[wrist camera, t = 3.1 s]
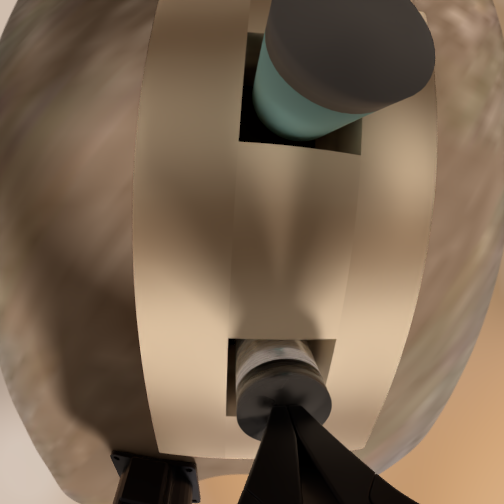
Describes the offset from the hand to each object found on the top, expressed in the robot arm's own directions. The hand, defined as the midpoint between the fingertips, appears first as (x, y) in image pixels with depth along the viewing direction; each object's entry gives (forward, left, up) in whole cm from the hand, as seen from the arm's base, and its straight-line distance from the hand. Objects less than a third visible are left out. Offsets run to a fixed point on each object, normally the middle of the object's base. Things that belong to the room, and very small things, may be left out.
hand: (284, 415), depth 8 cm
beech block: (+5, 0, -7) cm, 8 cm away
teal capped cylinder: (+9, 0, -3) cm, 9 cm away
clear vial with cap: (0, 0, -5) cm, 5 cm away
